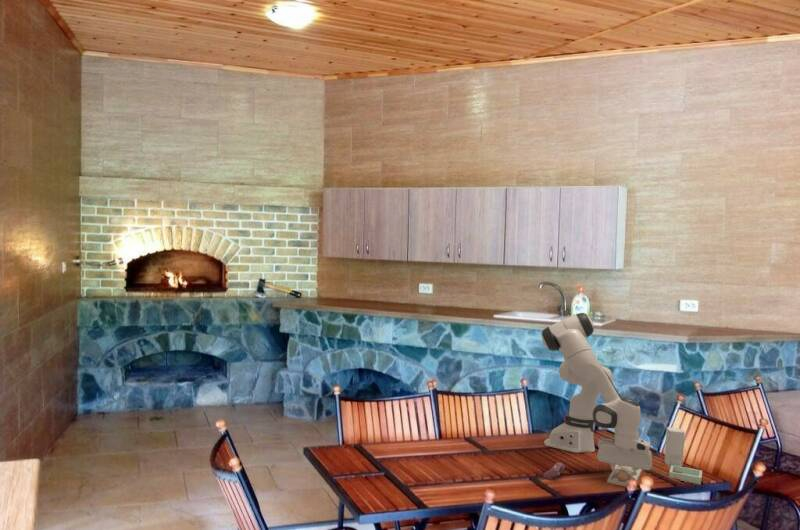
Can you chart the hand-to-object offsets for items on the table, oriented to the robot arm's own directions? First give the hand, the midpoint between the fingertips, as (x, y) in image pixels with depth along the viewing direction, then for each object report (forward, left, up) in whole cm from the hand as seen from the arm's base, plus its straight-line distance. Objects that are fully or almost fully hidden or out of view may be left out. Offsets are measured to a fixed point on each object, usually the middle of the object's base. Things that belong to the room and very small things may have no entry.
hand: (622, 476), depth 290 cm
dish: (+22, +26, -3) cm, 34 cm away
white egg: (0, +9, -2) cm, 9 cm away
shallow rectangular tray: (0, +9, -3) cm, 9 cm away
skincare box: (+16, +44, -3) cm, 47 cm away
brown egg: (0, 0, -2) cm, 2 cm away
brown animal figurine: (-25, -8, -3) cm, 26 cm away
